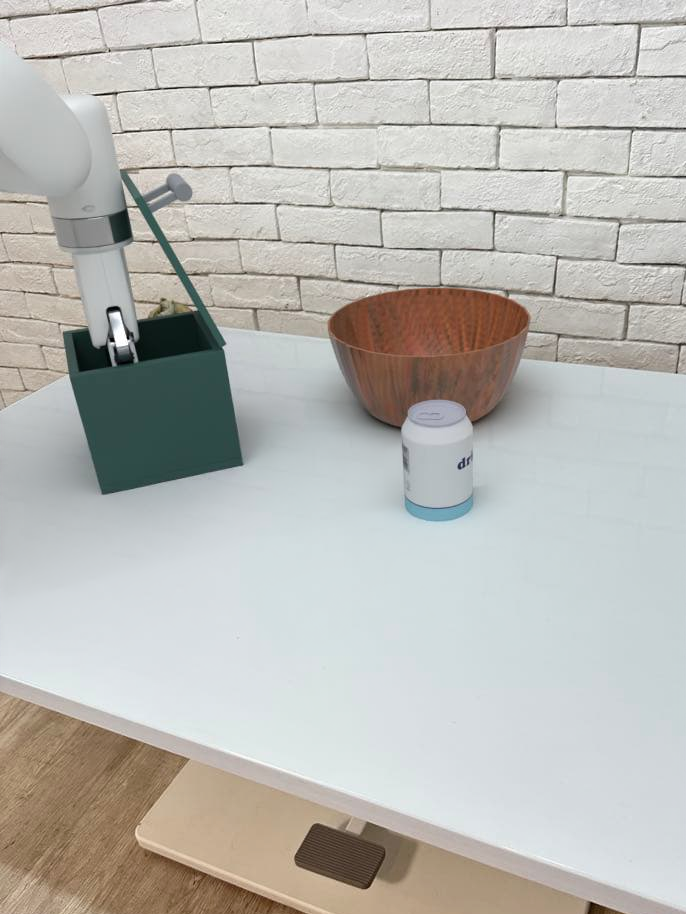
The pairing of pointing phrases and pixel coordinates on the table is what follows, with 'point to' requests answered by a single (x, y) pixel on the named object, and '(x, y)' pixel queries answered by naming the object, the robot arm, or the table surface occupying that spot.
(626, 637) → the table surface
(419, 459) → the beverage can
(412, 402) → the bowl
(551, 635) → the table surface
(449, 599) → the table surface
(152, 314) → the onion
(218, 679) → the table surface
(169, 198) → the lid
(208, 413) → the cooler
